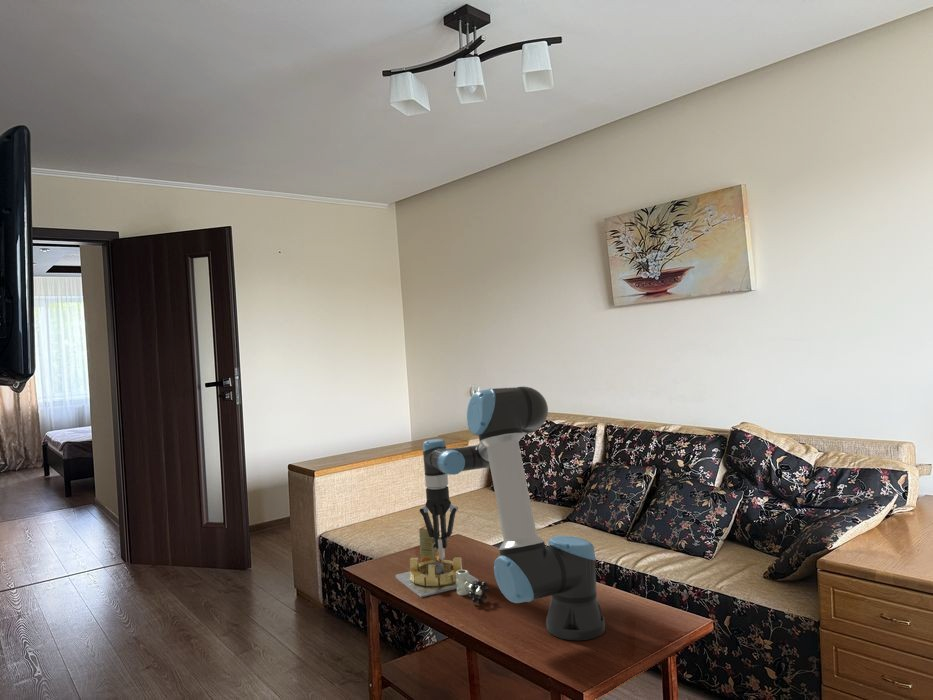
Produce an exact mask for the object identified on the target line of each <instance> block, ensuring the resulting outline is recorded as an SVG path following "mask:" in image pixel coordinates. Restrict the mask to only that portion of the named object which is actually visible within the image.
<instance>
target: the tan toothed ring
mask: <svg viewBox="0 0 933 700" xmlns="http://www.w3.org/2000/svg"><path fill="white" fill-rule="evenodd" d="M435 557H436V560H434V561H433V560H430V561H425V562H422V563H421V562H419V557H410V559H409V569H410V570H409V572H410V580H411V581H412V582H414V583H415V584H419V585H423V586H425V585H426V586H439V585H440V586H441V585H446V584H451V583H454V582H456V579H457V578H456V572H457V571H458V570H463V564H462V557H461V556H459V557H458V556H457V557H453V559H452V560H449V559H439V550H436V552H435ZM433 562H441V563H443V564H444V570H447V571H451V572H449V573H446V574H441V575H436V565H429V567H428V564H430V563H433ZM426 571H428V574H429V575H426V574H422V573H424V572H426Z"/></svg>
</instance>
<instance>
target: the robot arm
mask: <svg viewBox="0 0 933 700" xmlns="http://www.w3.org/2000/svg"><path fill="white" fill-rule="evenodd" d="M548 413H549V407H548V403H547V401H546V398H545V397H544V396H543V395H542V394H541V392H539V391H538V390H537V389H534V388H532V387H529V386H517V387H516V386H515V387H498V388H497V387H496V388H488V389H482V390H478V391H476V392H474V393H473V394H472V396H471V397H470V399H469V402H468V405H467V410H466V421H467V422H466V423H467V426H468V427H467V428H468V429H469V431H470V433H471V434H472V435H475V436H478V440H479V443H478V444H477V445H469V446H462V447H454V448H447V445H446V442H445V440H444V439H442V438H441V439H440V438H439V439H437V438H436V439H427V440H425V441H423V444H422V454H423V455H422V456H423V467H424V469H423V470H424V480H425V481H424V482H425V483H424V484H425V487H426V488H425V495H426V499H425V500H426V502H425V505H424V506H422V507H421V508H420V509H419V510H418V511H419V514H421V515H422V517H423V521H424V523H425V526H426V528H427V531H428V534H429V537H433V538H434V539H435V547H436V548H438V549H439V559H443V560H445V557H446V554H445V553H446V551H445V549H446V548H447V546H448V541H447V539H448V538H450V537H451V535H452V534H453V530H454V529H453V528H454V522H455V518H456V513H457V511H458V510H459V507H458V506H454V505H453V504H452V502H451V500H450V491H449V487H448V485H449V475H451V476H455V475H458V474H460V473H461V472H466V471H467V472H468V471H471V470H480V469H488V468H489V469H490V472H491V473H490V475H491V479H492V484H493V490H494V495H495V501H496V506H497V510H498V516H499V522H500V526H501V527H500V528H501V534H502V538H503V541H502V543H501V545H500V547H499V555H498V557H497V558H496V559H495V560H494V563H493V565H494V566H493V573H494V578H495V581H496V584H497V587H498V588H499V590H500V592H501V594H503V597H505V598H506V599H507V600H508V601H509V602H511V603H514V604H520V603H525V602H527V603H529V602H532V601H533V600H538V599H542V598H546V597H547V598H548V597H550V596H551V599H550V603H549V606H548V612H547V614H546V618H545V626H546V627H545V628H546V631H548V632H549V634H551V635H552V636H554V637H557V638H559V639H562V640H567V641H588V640H592V639H596V638H598V637H599V636H601V635H603V634H604V632H605V631H606V622H605V621H606V620H605V617H604V614H603V611H602V609H601V606H600V604H599V601H598V595H597V593H598V592H597V574H596V572H597V570H596V560H597V558H596V553H595V546H594V545H593V543H592V542H591V541H589V540H587V539H585V538H582V537H578V536H572V535H570V536H569V535H555V536H551V537H550V538H549V539H548V540H549V541H548V546H546V545H545V540H544V539H543V538H542V537H540V536H539V535H538V534H537V528H536V524H535V523H536V522H535V518H534V514H533V509H532V504H531V497H530V494H529V489H528V483H527V477H526V473H525V468H524V464H523V463H524V462H523V458H522V453H521V448H520V444H519V443H520V440H522V438H524V437H525V436H526V435H527V434H533V433H535V432H536V431H537V430H539V429H540V428H541V427H542V426H543V425H544V423H545V422H546V421H547V418H548ZM448 511H449V513H450V514H449V519H448V525H447V517H446V516H447V512H448ZM429 512H430V513H431V516H432V517H431V518H432V521H431V519H430V514H429ZM439 520H440V521H439ZM432 526H433V527H434V530H433V527H432Z"/></svg>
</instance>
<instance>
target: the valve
mask: <svg viewBox="0 0 933 700" xmlns="http://www.w3.org/2000/svg"><path fill="white" fill-rule="evenodd" d="M469 574H470V573H469V571H468V570H467V569H462V570H458V571H457V572H456V578H457V579H456V586H457V589H456V594H457V595H459V596H467V595H468V596H469V597H472V598H471V600H470V601H471V602H472V603H473V604H475V603H476V602H477V603H478V604H482V603H483V601H482V599H483V600H487V599H488V596H487V593H489V592H490V588H489V587H486V586H487V585H488V583H487V582H486V581H480V579H478V580H477V581H476V583H477V584H473V583H472V582H471V581H470V580H469V578H468V577H469ZM481 588H482V589H483V590H482V589H481Z"/></svg>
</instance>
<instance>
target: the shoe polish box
mask: <svg viewBox="0 0 933 700" xmlns="http://www.w3.org/2000/svg"><path fill="white" fill-rule="evenodd" d="M432 527H433V525H432ZM433 530H434V527H433ZM418 532H419V550H420V551H419V552H420V563H422V562H425V561H430V560H433V561H434V560H436V557H435V552H436V550H439V549H438V548H436V547H435V539H434V538H433V537H429V534H428V531H427V528H426V525H424V526H422V527H420V528H419V531H418Z"/></svg>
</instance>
